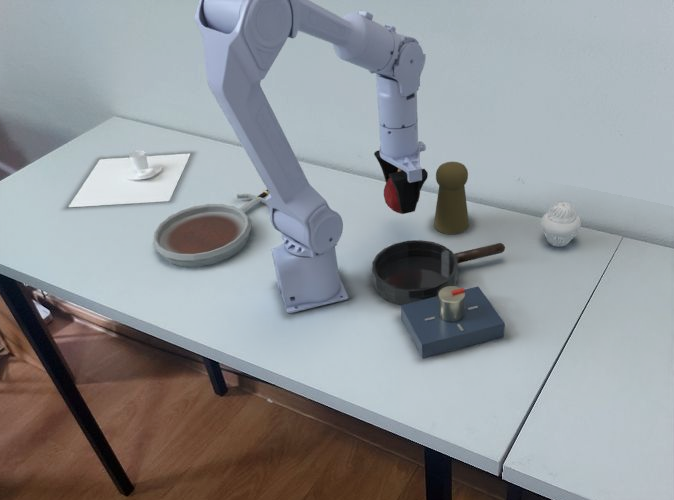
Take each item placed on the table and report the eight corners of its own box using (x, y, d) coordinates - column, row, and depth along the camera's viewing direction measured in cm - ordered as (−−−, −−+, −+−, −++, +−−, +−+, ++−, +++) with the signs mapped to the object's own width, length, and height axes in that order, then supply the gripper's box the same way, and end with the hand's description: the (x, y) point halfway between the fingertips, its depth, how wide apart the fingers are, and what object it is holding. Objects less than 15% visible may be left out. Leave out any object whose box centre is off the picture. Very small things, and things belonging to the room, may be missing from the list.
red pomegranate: (417, 223, 105) (416, 178, 99) (382, 222, 106) (378, 177, 100) (422, 204, 109) (421, 160, 103) (388, 203, 110) (385, 159, 105)
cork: (459, 237, 110) (460, 177, 102) (427, 229, 112) (426, 170, 105) (475, 219, 113) (477, 160, 106) (443, 212, 116) (443, 154, 109)
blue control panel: (422, 358, 89) (421, 343, 87) (401, 318, 96) (400, 304, 94) (503, 336, 91) (505, 322, 89) (477, 299, 98) (478, 284, 96)
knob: (444, 324, 90) (444, 302, 87) (434, 309, 93) (434, 287, 90) (468, 318, 91) (469, 296, 88) (458, 303, 93) (459, 281, 91)
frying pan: (309, 189, 121) (200, 265, 104) (311, 203, 123) (204, 280, 106) (241, 169, 128) (129, 237, 112) (244, 183, 130) (135, 252, 114)
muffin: (585, 238, 107) (591, 200, 102) (565, 256, 104) (571, 218, 99) (551, 226, 110) (556, 189, 105) (531, 243, 107) (535, 205, 102)
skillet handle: (453, 266, 102) (454, 258, 100) (450, 260, 103) (450, 252, 102) (506, 253, 103) (507, 245, 102) (502, 248, 104) (502, 240, 103)
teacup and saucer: (157, 182, 132) (151, 163, 129) (118, 184, 132) (111, 166, 130) (167, 162, 138) (161, 143, 136) (130, 164, 139) (124, 146, 136)
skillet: (388, 314, 96) (387, 298, 94) (363, 266, 106) (362, 251, 104) (470, 294, 99) (471, 278, 96) (439, 248, 108) (439, 233, 106)
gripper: (441, 135, 92) (441, 219, 101) (407, 97, 103) (410, 177, 112) (393, 145, 91) (398, 228, 100) (364, 106, 101) (371, 185, 111)
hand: (402, 202), depth 106 cm, fingers closed on red pomegranate, 6 cm apart
